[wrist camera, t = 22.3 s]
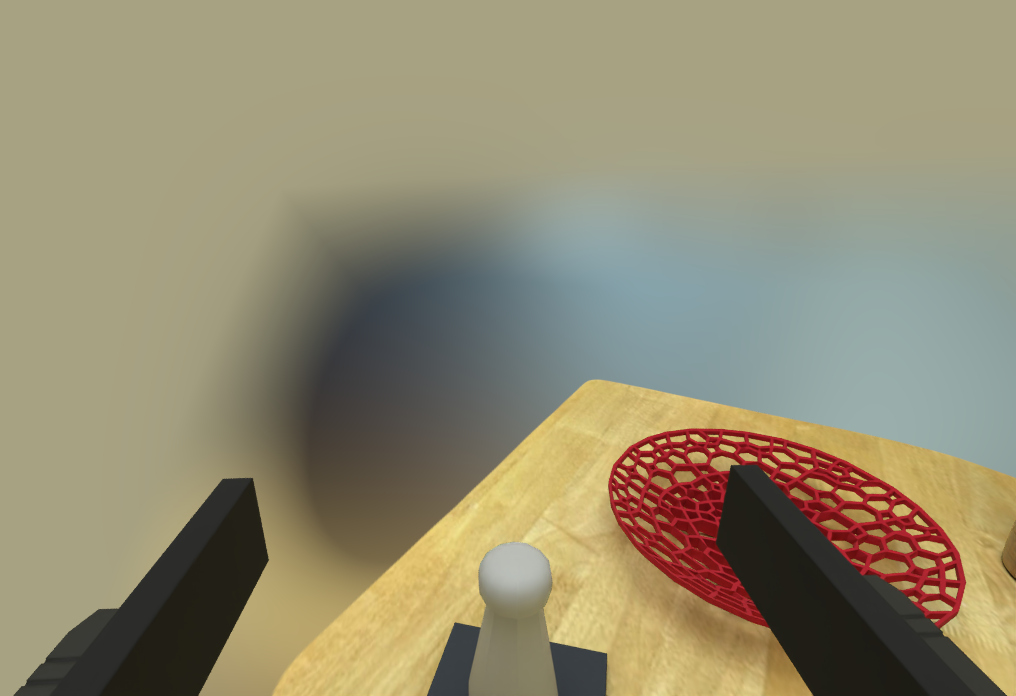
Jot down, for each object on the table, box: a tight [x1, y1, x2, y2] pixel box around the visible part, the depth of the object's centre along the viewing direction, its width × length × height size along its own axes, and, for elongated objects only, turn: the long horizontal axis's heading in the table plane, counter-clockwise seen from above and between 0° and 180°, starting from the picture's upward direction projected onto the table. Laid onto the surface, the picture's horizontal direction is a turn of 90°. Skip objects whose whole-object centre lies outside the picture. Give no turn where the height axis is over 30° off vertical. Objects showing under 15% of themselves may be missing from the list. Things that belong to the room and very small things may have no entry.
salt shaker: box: [469, 542, 558, 696], centre depth 31 cm, size 6×6×13 cm
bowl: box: [608, 429, 966, 629], centre depth 48 cm, size 29×30×5 cm
